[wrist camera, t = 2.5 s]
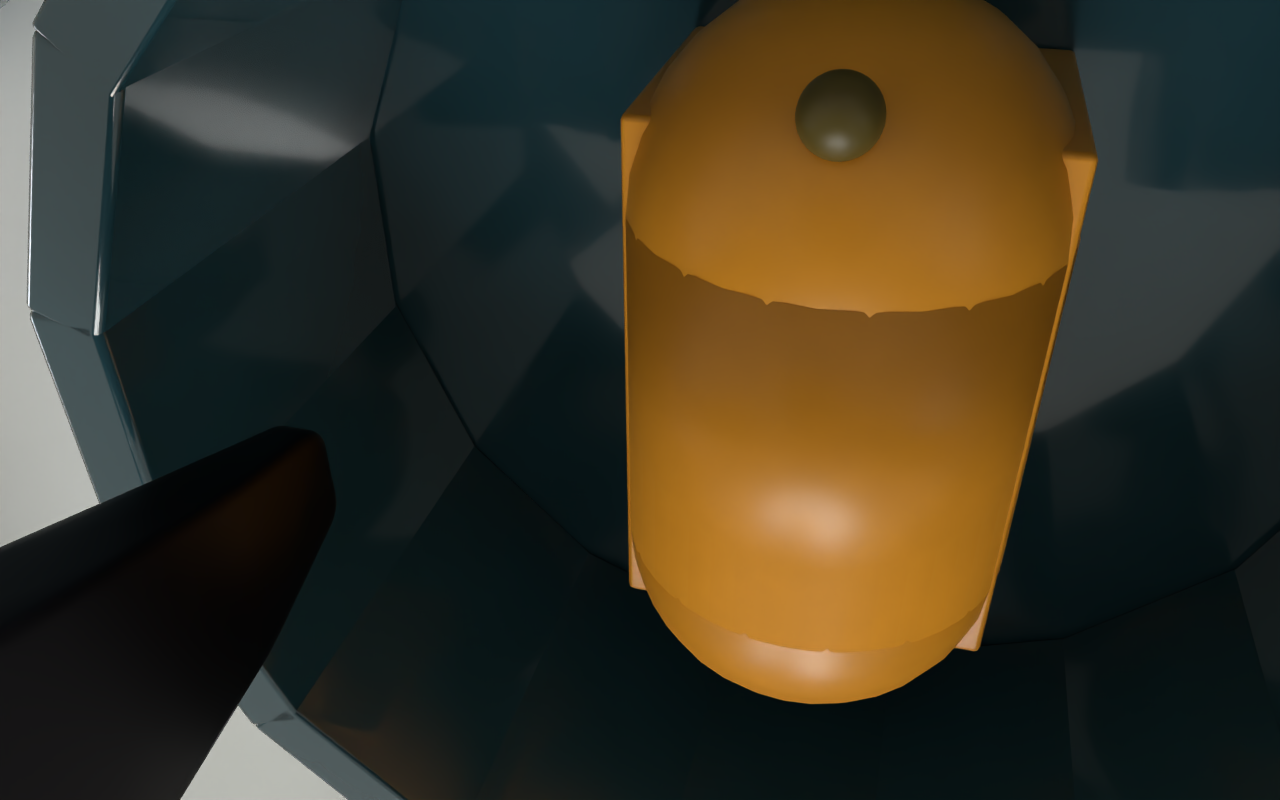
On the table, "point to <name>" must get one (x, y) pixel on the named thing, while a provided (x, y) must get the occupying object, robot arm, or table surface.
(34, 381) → the table surface
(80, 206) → the pot
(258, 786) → the table surface
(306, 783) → the table surface
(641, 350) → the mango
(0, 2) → the lid
